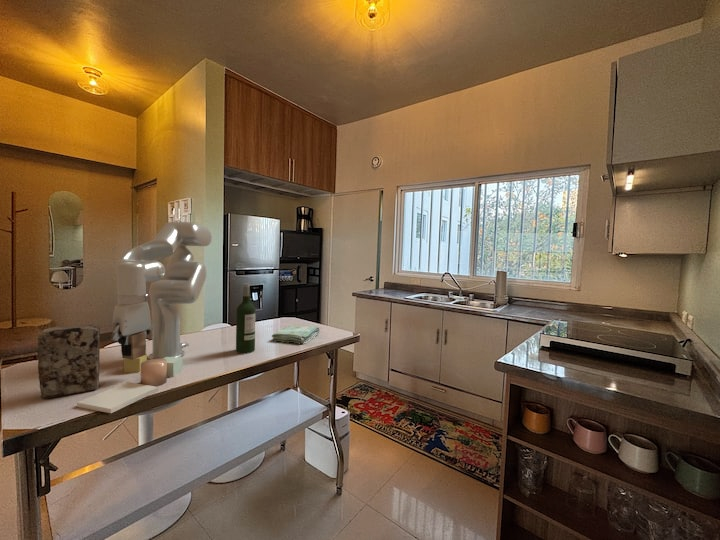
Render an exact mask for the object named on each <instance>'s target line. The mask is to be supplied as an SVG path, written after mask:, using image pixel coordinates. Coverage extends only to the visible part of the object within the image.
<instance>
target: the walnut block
mask: <svg viewBox="0 0 720 540" xmlns="http://www.w3.org/2000/svg"><path fill="white" fill-rule="evenodd" d="M124 340H125V338H124ZM129 344H131V356H123V355H122V354H121V356H122V359H125V358H126V359H132V360H134V359H136V358H139V357H142V356H144V355H146V354H147V346H146V345H147V342H146V343H145V332H139V333H135V334H132V335H130V340H129Z"/></svg>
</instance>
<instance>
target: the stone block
mask: <svg viewBox="0 0 720 540" xmlns="http://www.w3.org/2000/svg"><path fill="white" fill-rule="evenodd" d="M100 328H101V327H100V325H99V324H98V323H88V324H76V325H67V326H66V325H64V326H56V327H54V326H53V327H49V328H46V329H43V330H41V331H40V332H39V333H38V336H37V357H38V359H37V361H38V362H37V368H38V369H37V370H38V381H39V389H40V390H39V391H40V394H41V395H40V397H41V398H42V399H53V398H57V397H62V396H69V395H75V394H79V393H85V392H89V391H94V390H98V389H99V386H100V349H101V348H100V342H101V339H100V337H101V336H100V335H101V333H100V331H101V329H100Z"/></svg>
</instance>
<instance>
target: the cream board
mask: <svg viewBox="0 0 720 540" xmlns="http://www.w3.org/2000/svg"><path fill="white" fill-rule="evenodd" d="M158 391H159V386H157V387H155V386H149V385H143V384H141V383H136V382H130V381H127V382H124V383H122V384H121V383H120V384H119V385H117V386H115V387H112V388H109V389H107V390H104V391H102V392H100V393H97V394H94V395H91V396H89V397H87V398H84V399H82V400H79V401H78V402H76V406H77V407H78V408H81V409H87V410H92V411H97V412H103V413H106V414H112V413H114V412H117V411H119V410H121V409H123V408H125V407H127V406H129V405H131V404H133V403H136V402H138V401H139V400H142V399H143V398H146V397H148V396H149V395H153V394H154V393H157V392H158Z"/></svg>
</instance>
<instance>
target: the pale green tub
mask: <svg viewBox="0 0 720 540" xmlns="http://www.w3.org/2000/svg"><path fill="white" fill-rule="evenodd" d="M163 359H166V360H167V378H169V377H170V378H174V377H176V376H177V375H178V374H180V373H181V372H182V371H183V370H184V356H182V357H165V358H163Z"/></svg>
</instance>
